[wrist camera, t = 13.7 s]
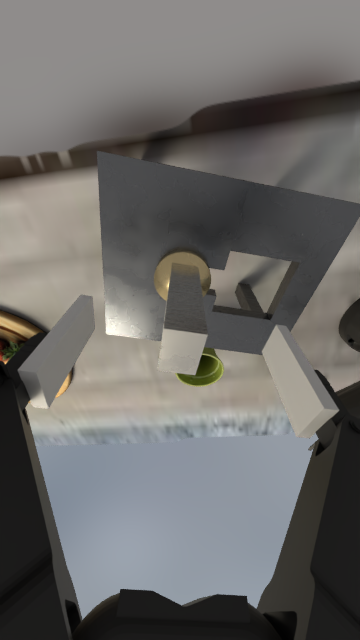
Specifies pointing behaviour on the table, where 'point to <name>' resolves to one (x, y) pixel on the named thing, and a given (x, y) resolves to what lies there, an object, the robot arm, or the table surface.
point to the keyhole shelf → (210, 245)
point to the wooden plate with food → (19, 340)
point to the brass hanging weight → (182, 310)
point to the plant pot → (204, 370)
